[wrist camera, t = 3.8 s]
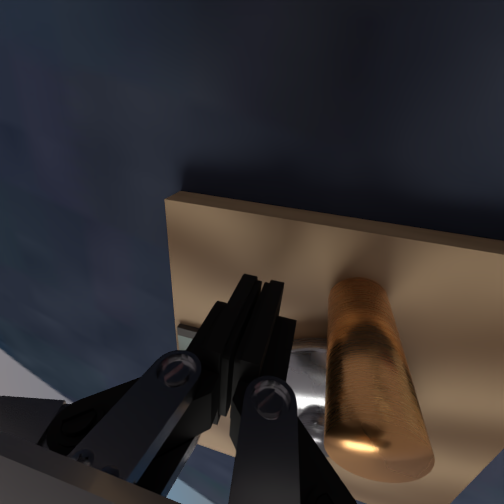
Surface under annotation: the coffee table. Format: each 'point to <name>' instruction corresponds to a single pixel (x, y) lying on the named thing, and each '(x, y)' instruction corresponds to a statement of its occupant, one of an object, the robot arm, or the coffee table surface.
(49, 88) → the coffee table surface
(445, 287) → the stand
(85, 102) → the coffee table surface
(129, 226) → the coffee table surface
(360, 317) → the cam capstan
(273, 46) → the coffee table surface
